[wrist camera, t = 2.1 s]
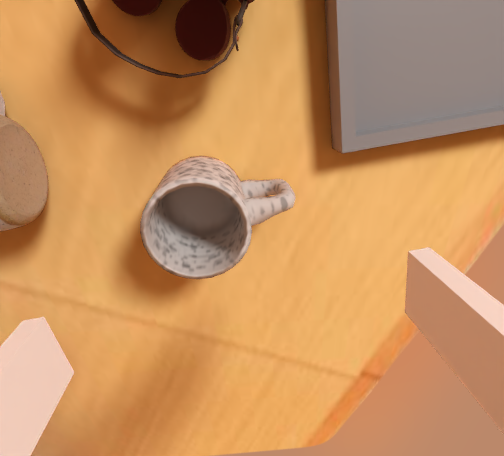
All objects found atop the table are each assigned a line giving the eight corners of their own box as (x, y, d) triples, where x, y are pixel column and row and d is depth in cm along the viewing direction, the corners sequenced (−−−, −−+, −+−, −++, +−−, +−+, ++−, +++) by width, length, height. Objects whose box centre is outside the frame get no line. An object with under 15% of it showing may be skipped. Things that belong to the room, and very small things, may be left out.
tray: (332, 148, 24) (342, 153, 22) (317, -136, 18) (329, -164, 16) (531, 112, 25) (559, 114, 23) (589, -179, 18) (635, -212, 16)
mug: (175, 243, 27) (161, 289, 20) (147, 167, 24) (122, 194, 18) (290, 215, 27) (311, 253, 20) (276, 136, 24) (295, 152, 18)
